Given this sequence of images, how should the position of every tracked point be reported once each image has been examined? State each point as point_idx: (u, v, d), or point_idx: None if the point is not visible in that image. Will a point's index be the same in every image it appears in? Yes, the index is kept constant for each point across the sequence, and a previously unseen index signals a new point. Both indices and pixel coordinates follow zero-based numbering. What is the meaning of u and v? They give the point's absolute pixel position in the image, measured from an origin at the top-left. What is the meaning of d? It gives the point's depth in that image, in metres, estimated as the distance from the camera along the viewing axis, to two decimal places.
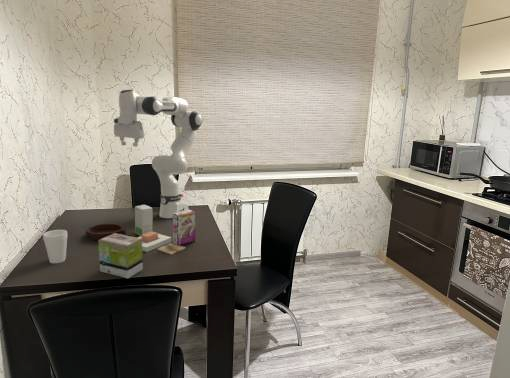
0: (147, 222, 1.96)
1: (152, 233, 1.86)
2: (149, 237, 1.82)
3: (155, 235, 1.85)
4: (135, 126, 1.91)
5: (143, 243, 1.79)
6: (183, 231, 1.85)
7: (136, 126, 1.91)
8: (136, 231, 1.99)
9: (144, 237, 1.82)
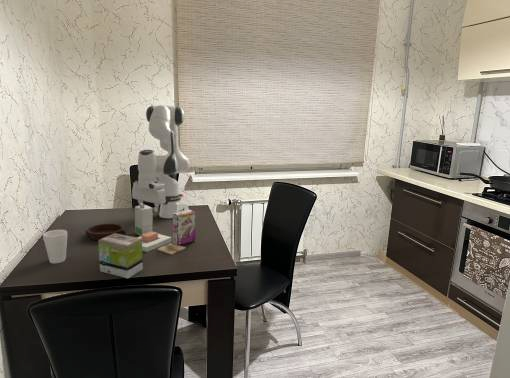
0: (147, 222, 1.96)
1: (152, 233, 1.86)
2: (149, 237, 1.82)
3: (155, 235, 1.85)
4: None
5: (143, 243, 1.79)
6: (183, 231, 1.85)
7: None
8: (136, 231, 1.99)
9: (144, 237, 1.82)
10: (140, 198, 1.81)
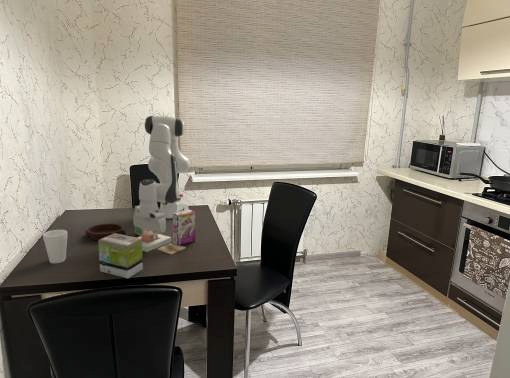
0: None
1: (152, 233, 1.86)
2: (149, 237, 1.82)
3: None
4: None
5: (143, 243, 1.79)
6: (183, 231, 1.85)
7: None
8: (136, 231, 1.99)
9: (144, 237, 1.82)
10: (141, 226, 1.84)
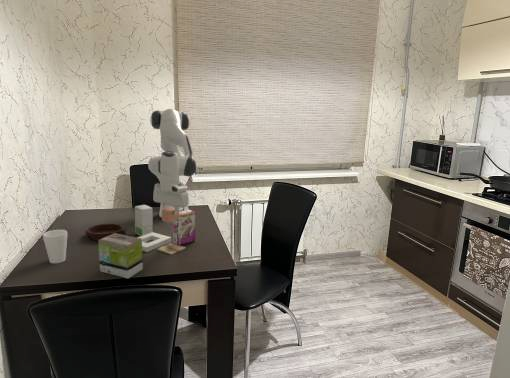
0: (147, 222, 1.96)
1: (173, 208, 1.76)
2: (170, 212, 1.72)
3: None
4: None
5: (143, 243, 1.79)
6: (183, 231, 1.85)
7: None
8: (136, 231, 1.99)
9: (165, 212, 1.72)
10: (162, 201, 1.75)
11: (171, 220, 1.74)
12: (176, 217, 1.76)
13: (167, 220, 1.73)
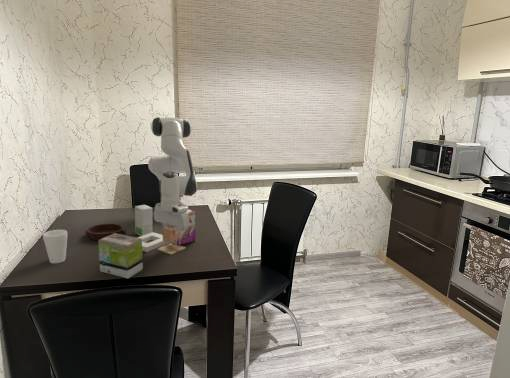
0: (147, 222, 1.96)
1: (173, 228, 1.78)
2: (170, 232, 1.74)
3: None
4: None
5: (143, 243, 1.79)
6: (183, 231, 1.85)
7: None
8: (136, 231, 1.99)
9: (166, 232, 1.75)
10: (162, 221, 1.77)
11: (172, 240, 1.76)
12: (176, 236, 1.78)
13: (168, 240, 1.75)
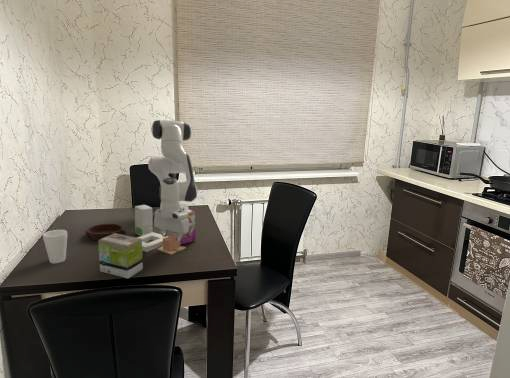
0: (147, 222, 1.96)
1: (174, 237, 1.79)
2: (170, 241, 1.75)
3: None
4: None
5: (143, 243, 1.79)
6: None
7: None
8: (136, 231, 1.99)
9: (166, 241, 1.76)
10: (162, 227, 1.78)
11: (172, 248, 1.77)
12: (177, 245, 1.80)
13: (168, 249, 1.76)
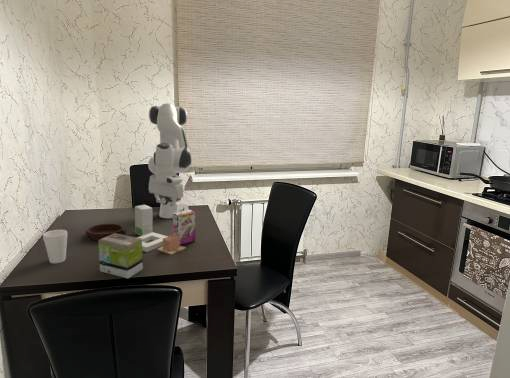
0: (147, 222, 1.96)
1: (174, 237, 1.79)
2: (170, 241, 1.75)
3: (177, 239, 1.79)
4: None
5: (143, 243, 1.79)
6: (183, 231, 1.85)
7: None
8: (136, 231, 1.99)
9: (166, 241, 1.76)
10: (157, 192, 1.79)
11: (172, 248, 1.77)
12: (177, 245, 1.80)
13: (168, 249, 1.76)
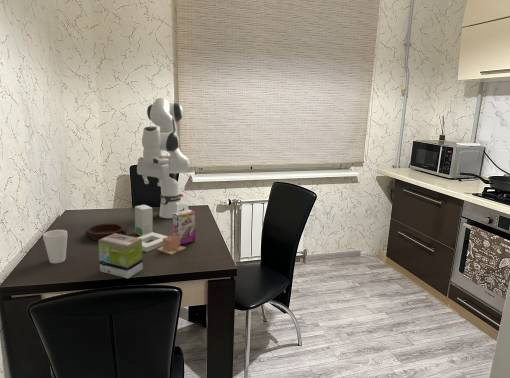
0: (147, 222, 1.96)
1: (174, 237, 1.79)
2: (170, 241, 1.75)
3: (177, 239, 1.79)
4: None
5: (143, 243, 1.79)
6: (183, 231, 1.85)
7: None
8: (136, 231, 1.99)
9: (166, 241, 1.76)
10: (145, 173, 1.88)
11: (172, 248, 1.77)
12: (177, 245, 1.80)
13: (168, 249, 1.76)
